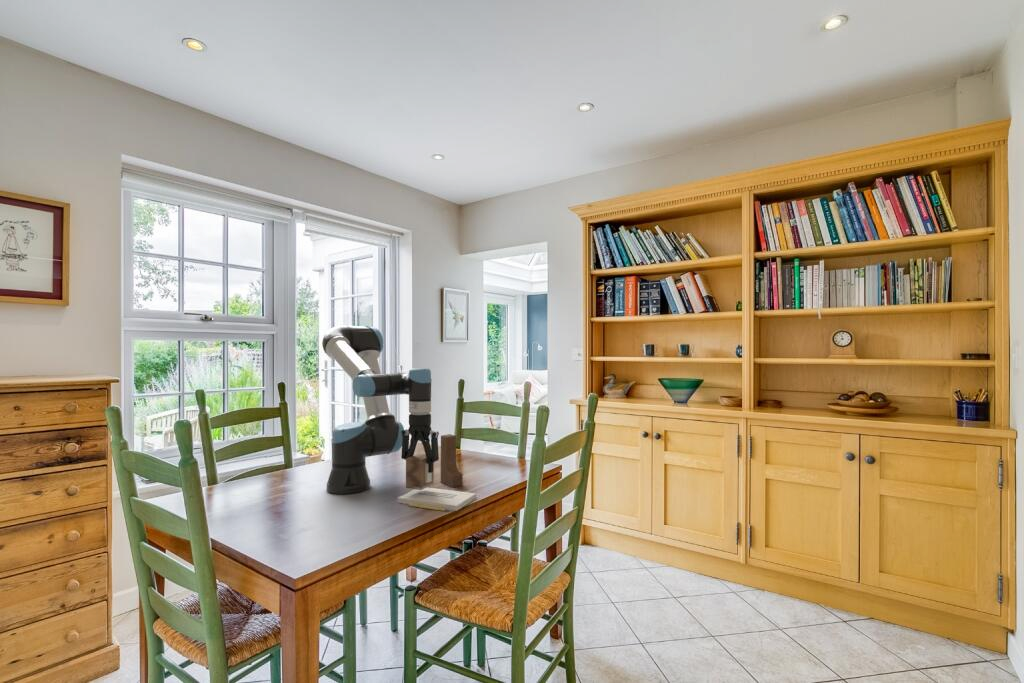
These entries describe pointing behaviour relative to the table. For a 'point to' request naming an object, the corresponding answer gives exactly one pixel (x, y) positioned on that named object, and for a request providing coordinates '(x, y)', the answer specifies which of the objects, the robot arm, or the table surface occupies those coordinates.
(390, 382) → the robot arm
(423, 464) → the block
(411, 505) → the pencil
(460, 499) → the board
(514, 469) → the table surface
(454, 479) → the wooden block
